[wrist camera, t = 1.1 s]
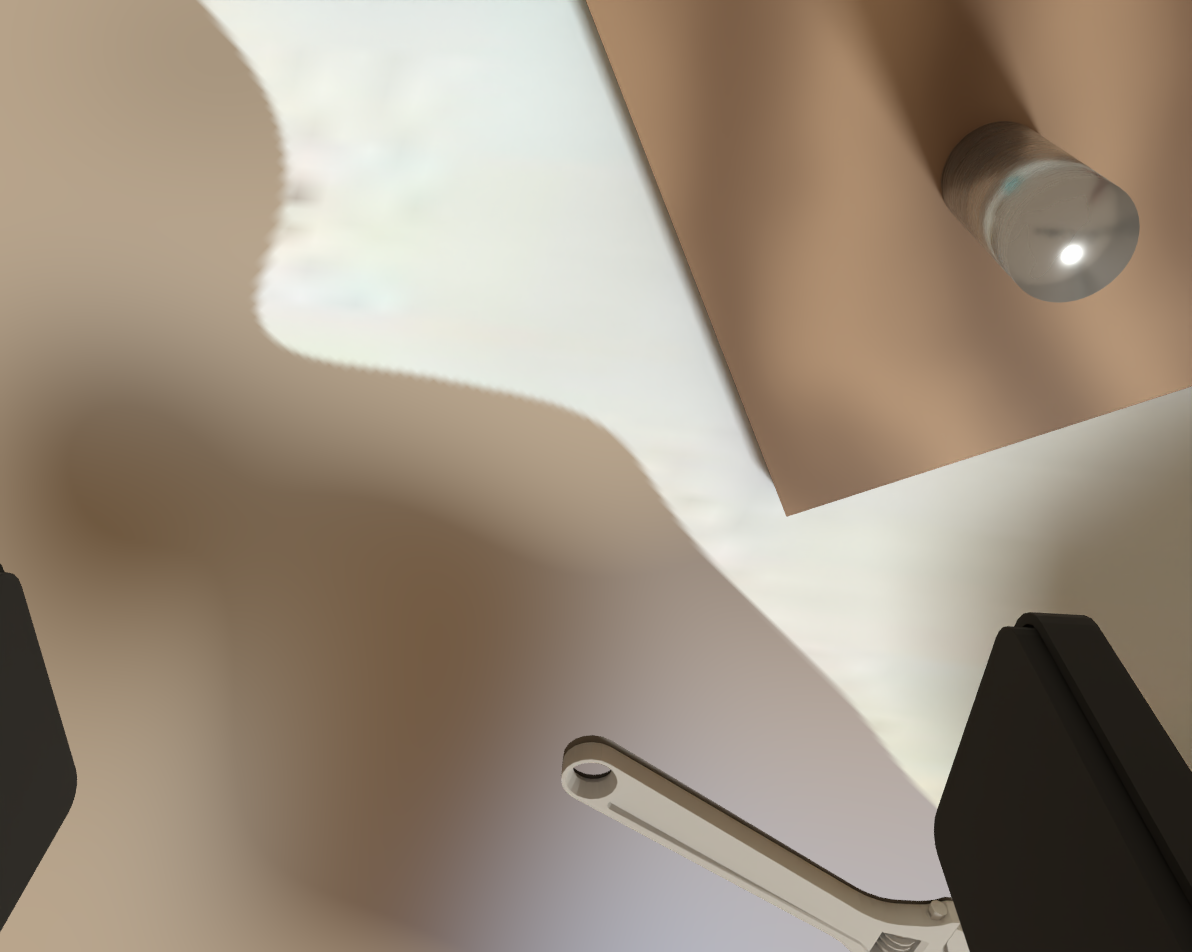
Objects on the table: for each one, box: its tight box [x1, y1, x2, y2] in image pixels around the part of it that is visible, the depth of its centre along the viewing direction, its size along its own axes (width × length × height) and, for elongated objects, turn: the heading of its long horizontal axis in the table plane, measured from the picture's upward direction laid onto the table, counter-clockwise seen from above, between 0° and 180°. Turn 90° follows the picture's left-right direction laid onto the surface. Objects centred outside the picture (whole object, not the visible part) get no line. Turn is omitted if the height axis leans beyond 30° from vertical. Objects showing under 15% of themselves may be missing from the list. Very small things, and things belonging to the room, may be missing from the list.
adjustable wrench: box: [561, 735, 970, 952], centre depth 47 cm, size 25×6×2 cm, turn 48°
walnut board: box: [586, 0, 1192, 516], centre depth 30 cm, size 18×18×2 cm
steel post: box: [941, 121, 1140, 303], centre depth 26 cm, size 3×3×6 cm
